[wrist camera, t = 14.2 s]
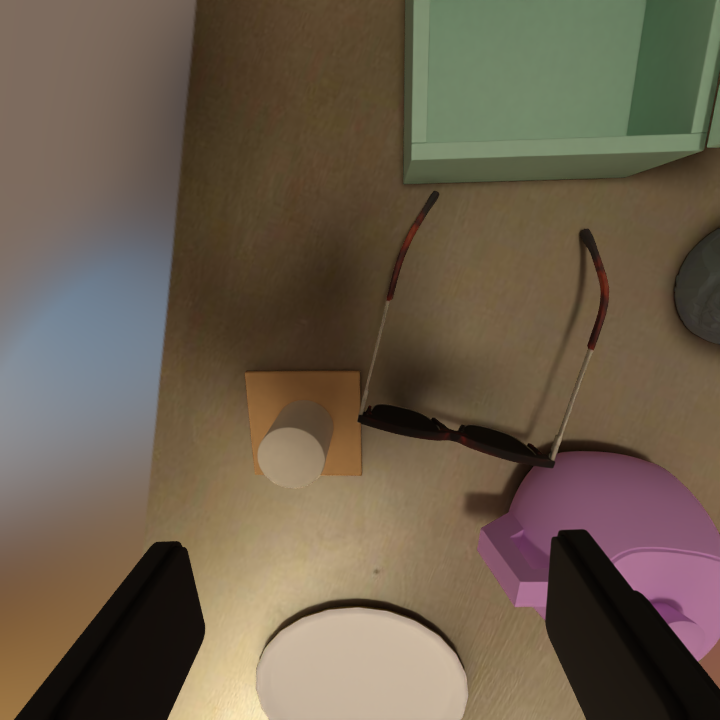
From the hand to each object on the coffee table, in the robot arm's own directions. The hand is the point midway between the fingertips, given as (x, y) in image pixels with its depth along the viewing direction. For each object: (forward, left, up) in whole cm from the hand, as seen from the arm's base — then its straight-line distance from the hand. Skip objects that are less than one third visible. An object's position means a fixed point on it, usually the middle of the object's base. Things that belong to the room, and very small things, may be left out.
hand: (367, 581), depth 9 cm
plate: (-2, -33, -20) cm, 38 cm away
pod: (-6, -5, -19) cm, 21 cm away
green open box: (+9, +18, -20) cm, 28 cm away
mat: (-6, -5, -20) cm, 21 cm away
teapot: (+17, -13, -20) cm, 29 cm away
